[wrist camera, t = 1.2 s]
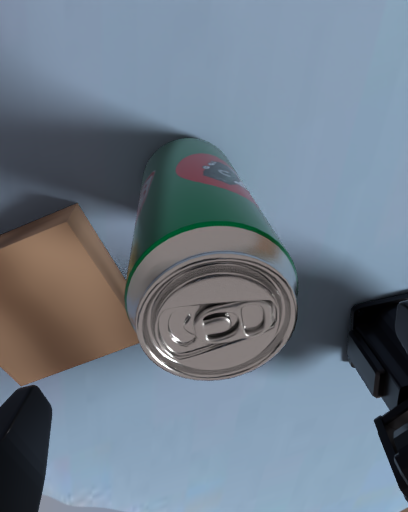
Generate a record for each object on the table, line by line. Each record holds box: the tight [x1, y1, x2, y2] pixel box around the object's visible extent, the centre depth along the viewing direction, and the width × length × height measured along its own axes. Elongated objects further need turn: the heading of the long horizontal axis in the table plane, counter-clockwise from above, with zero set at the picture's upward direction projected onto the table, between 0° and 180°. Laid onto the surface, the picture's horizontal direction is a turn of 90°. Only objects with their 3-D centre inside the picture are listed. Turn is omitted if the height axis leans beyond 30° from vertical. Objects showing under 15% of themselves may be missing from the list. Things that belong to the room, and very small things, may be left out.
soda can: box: [124, 138, 298, 381], centre depth 14 cm, size 5×5×12 cm
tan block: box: [0, 203, 139, 386], centre depth 21 cm, size 9×9×2 cm
